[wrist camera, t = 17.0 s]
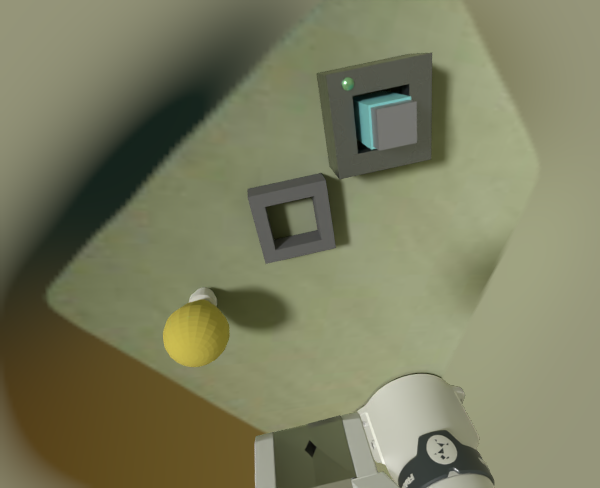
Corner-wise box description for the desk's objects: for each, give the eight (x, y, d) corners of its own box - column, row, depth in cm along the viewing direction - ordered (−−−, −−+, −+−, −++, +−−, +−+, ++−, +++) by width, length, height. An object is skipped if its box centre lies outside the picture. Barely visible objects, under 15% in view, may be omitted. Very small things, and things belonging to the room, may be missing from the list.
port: (411, 148, 36) (432, 159, 32) (329, 166, 36) (339, 179, 32) (409, 53, 32) (433, 52, 28) (316, 73, 32) (326, 75, 28)
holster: (331, 237, 40) (335, 248, 38) (264, 252, 40) (265, 263, 38) (321, 173, 36) (325, 180, 34) (247, 189, 36) (247, 197, 34)
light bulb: (173, 314, 42) (154, 379, 34) (177, 268, 40) (157, 327, 31) (228, 319, 44) (223, 383, 35) (235, 276, 41) (232, 334, 32)
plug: (385, 128, 35) (419, 144, 28) (351, 135, 35) (377, 153, 28) (383, 90, 33) (419, 98, 26) (347, 98, 33) (374, 107, 26)
